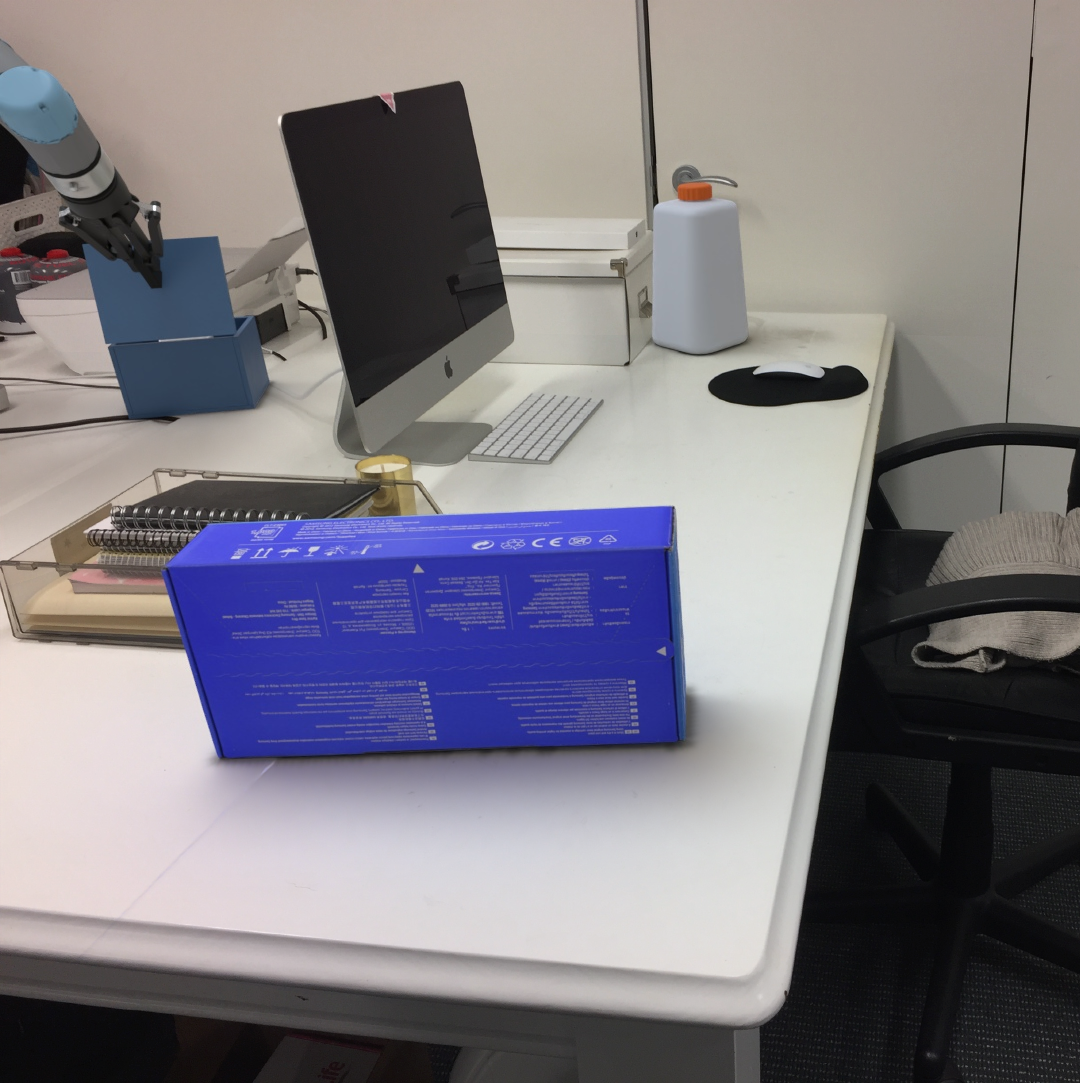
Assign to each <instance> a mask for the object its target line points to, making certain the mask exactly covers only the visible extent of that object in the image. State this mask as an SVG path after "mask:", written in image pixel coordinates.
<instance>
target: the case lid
mask: <svg viewBox="0 0 1080 1083" xmlns="http://www.w3.org/2000/svg"><path fill="white" fill-rule="evenodd" d="M148 240H149V241H150V243H151V240H150V239H148ZM130 243H131V242H130ZM132 249H133V251H134V246H133V245H132ZM82 250H83V254H84V258H85V263H86V267H87V271H88V276H89V280H90V284H91V288H92V292H93V296H94V301H95V306H96V310H97V313H98V314H97V315H98V318H99V322H100V326H101V331H102V334H103V335H102V336H103V339H104V340H103V341H104V344H105V345H111V344H114V343H127V342H140V341H153V340H166V339H179V338H192V337H205V336H218V335H231V334H237V330H236V325H235V320H234V317H235V316H234V310H233V306H232V300H231V294H230V290H229V284H228V280H227V274H226V270H225V264H224V259H223V255H222V250H221V244H220V239H219V235H214V236H213V235H211V236H197V237H196V236H195V237H194V236H193V237H179V238H165V239H164V238H163V257H162V258H159V259H160V270H161V271H162V288H155V289H151V287H150V286H149V285H148V283H147V282H146V280H145V279H144V278H143V276H142V275H141V273H140V272H137V273H135V272H133V271H132V270H131V268H130V267H129V265H128V264H127V263H126V262H124V261H123V260H122V259H117V260H115V261H110V260H108V259H107V258H105V257H104V256H103V255H102V254H100V253H99V252H98V251H97V250H96V249H94V248H93V247H92V246H91V245H89V244H88V243H83V244H82Z"/></svg>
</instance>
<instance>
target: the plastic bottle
mask: <svg viewBox="0 0 1080 1083" xmlns="http://www.w3.org/2000/svg"><path fill="white" fill-rule="evenodd" d="M652 213H653V214H652V221H653V222H652V296H651V297H652V298H651V299H652V301H651V302H652V304H651V305H652V306H651V307H652V308H651V310H652V312H651V314H652V315H651V317H652V319H651V326H652V327H651V338H652V341H653V342H654V343H655V344H656V345H657V346H660V347H663V348H666V349H671V350H675V351H678V352H682V353H686V354H690V355H691V354H692V355H707V354H712V353H716V352H718V351H719V352H720V351H722V350H724V349H728V348H731V347H734V346H737V345H740V344H743V343H744V342H745V341H746V340H747V339H748V337H749V322H748V309H747V300H746V298H747V297H746V288H745V276H744V265H743V256H742V255H743V253H742V252H743V251H742V244H741V243H742V242H741V241H742V240H741V229H740V218H739V208H738V205H737V204H736V202H735V201H732V200H730V199H725V198H718V197H713V185H712V184H711V183H708V182H685V183H681V184H679V185H678V186H677V198H676V199H670V200H666V201H662V202H659V203H657V204H656V205H655V206H654V208H653V211H652Z"/></svg>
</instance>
